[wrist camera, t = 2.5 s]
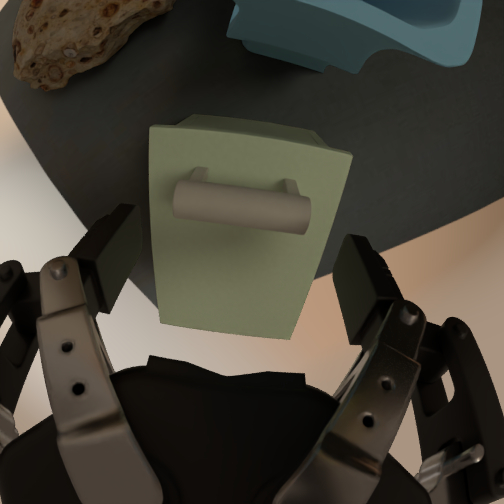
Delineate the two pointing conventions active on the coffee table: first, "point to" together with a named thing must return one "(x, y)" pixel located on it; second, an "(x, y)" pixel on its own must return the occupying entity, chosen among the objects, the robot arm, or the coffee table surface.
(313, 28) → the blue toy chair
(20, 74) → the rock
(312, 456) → the robot arm
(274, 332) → the bin lid
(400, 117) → the coffee table surface
